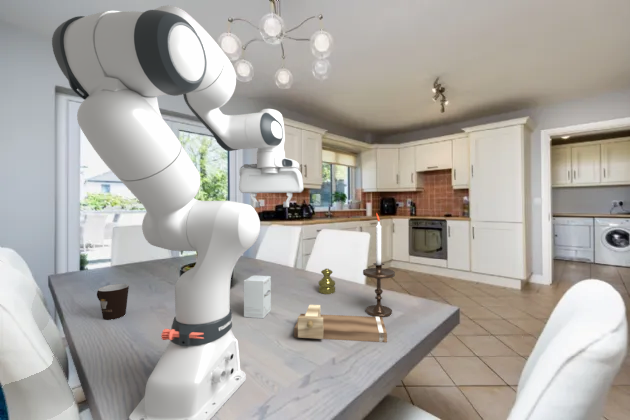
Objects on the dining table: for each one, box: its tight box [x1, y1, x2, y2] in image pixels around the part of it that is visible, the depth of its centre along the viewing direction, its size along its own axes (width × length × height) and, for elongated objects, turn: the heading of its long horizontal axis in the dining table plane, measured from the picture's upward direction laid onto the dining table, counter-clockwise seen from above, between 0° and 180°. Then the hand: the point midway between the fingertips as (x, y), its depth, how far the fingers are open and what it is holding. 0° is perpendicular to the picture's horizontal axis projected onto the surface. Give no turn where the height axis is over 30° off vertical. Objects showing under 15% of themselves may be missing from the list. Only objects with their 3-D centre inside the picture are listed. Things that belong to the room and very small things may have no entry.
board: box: [293, 313, 388, 343], centre depth 83 cm, size 11×26×3 cm, turn 83°
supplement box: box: [243, 275, 272, 319], centre depth 97 cm, size 7×7×13 cm
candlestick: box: [362, 212, 396, 318], centre depth 97 cm, size 11×11×35 cm
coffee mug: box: [96, 283, 130, 321], centre depth 97 cm, size 12×9×10 cm
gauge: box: [297, 304, 324, 340], centre depth 82 cm, size 12×7×6 cm, turn 173°
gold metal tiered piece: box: [317, 268, 336, 295], centre depth 121 cm, size 7×8×10 cm
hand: (271, 207), depth 88 cm, fingers open, 8 cm apart
